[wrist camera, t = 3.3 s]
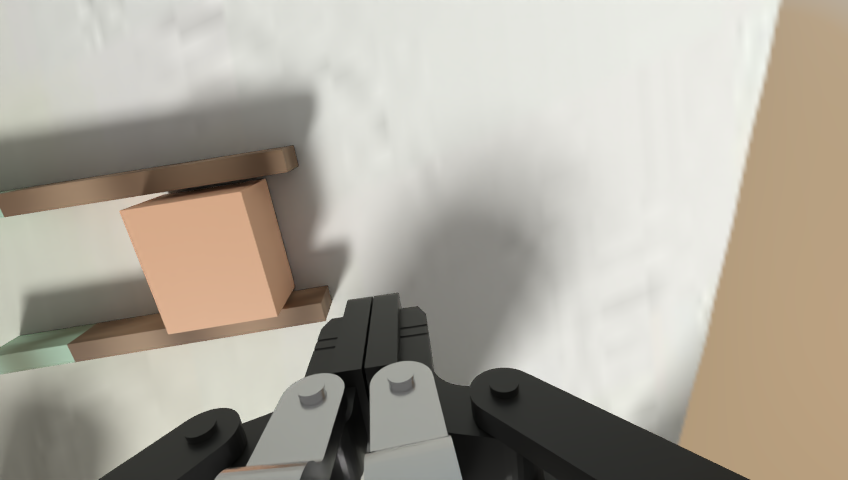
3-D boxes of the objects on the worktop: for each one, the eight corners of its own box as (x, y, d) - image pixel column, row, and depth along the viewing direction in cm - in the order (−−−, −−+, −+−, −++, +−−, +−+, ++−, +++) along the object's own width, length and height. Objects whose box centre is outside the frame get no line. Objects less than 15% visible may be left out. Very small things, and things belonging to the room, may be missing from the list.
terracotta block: (265, 178, 24) (240, 191, 20) (294, 286, 26) (277, 316, 22) (163, 194, 24) (119, 211, 20) (201, 301, 26) (168, 334, 22)
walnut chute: (293, 145, 24) (282, 149, 21) (331, 302, 27) (325, 320, 24) (-54, 199, 23) (-105, 210, 21) (27, 352, 26) (-10, 375, 24)
